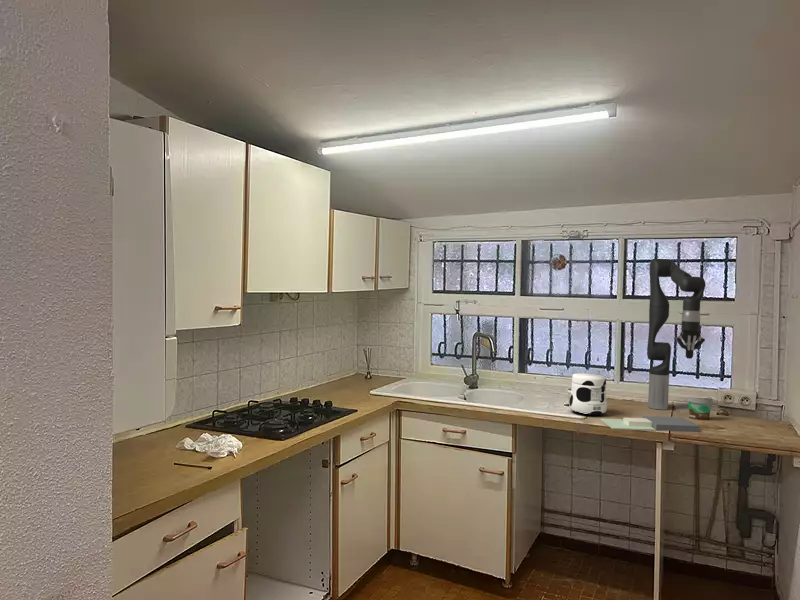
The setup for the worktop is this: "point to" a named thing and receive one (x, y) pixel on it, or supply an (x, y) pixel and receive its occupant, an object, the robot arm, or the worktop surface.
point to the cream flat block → (637, 422)
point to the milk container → (588, 394)
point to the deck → (672, 423)
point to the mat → (623, 425)
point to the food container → (699, 408)
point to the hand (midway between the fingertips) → (689, 358)
